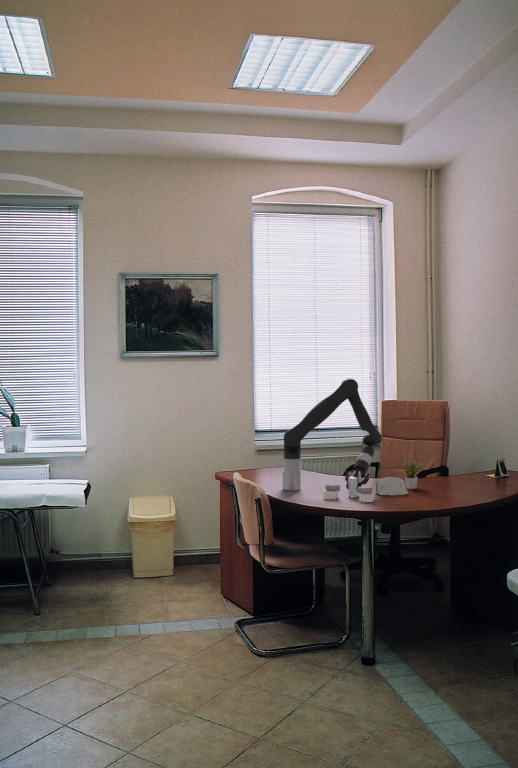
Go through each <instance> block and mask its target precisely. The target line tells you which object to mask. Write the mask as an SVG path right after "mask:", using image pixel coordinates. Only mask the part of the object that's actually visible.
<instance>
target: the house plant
mask: <svg viewBox="0 0 518 768" xmlns="http://www.w3.org/2000/svg"><path fill="white" fill-rule="evenodd" d="M408 459H409V460H408V463H409V464H408V463H407V462H406V461H405V460H403V462H404V464H403V462H400V463H401V465H402V466H403V467H404V468H405V469H406V470H404V469H400V470H399V471H400V472H405V473H406V476H404V483H405V487H406V490H415V489H417V485H418V484H417V483H418V478H419V477H418V476H416V475H417V474H418V473H421V474H422V473H423V472H422V471H421V468H420V467H421V466H422V465H423V464H425V462H424V461H423V462H419V463H418V464H417V465H416V462H417V461H416V459H414V460H413V462H411V459H410V458H408ZM418 468H419V469H418Z"/></svg>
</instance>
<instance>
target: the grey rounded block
mask: <svg viewBox="0 0 518 768" xmlns="http://www.w3.org/2000/svg"><path fill="white" fill-rule="evenodd" d="M408 493H409V492H408V489H407V488H406V482H405V479H403V478H401V477H395V476H387V477H383V478H379V479H377V480H376V482H375V495H378V496H379V495H390V496H406V495H405V494H408Z"/></svg>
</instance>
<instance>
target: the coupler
mask: <svg viewBox="0 0 518 768" xmlns="http://www.w3.org/2000/svg"><path fill="white" fill-rule="evenodd" d="M348 480H349V489H348V497H349V496H353V497H352V498H355V497H357V496H359V494H360V493H358V492H357V489H356V487H357V485H358V483H359V477H349V478H348ZM357 498H358V497H357Z"/></svg>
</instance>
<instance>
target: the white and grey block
mask: <svg viewBox="0 0 518 768" xmlns="http://www.w3.org/2000/svg"><path fill="white" fill-rule="evenodd" d="M357 492H358V493H359V498H358V500H359V501H365V502H372V501H373V500H374V501H375V492H373V488H372V487H366V486H361V487H358V488H357ZM374 501H373V502H374ZM365 502H364V503H365ZM373 502H372V503H373Z"/></svg>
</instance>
